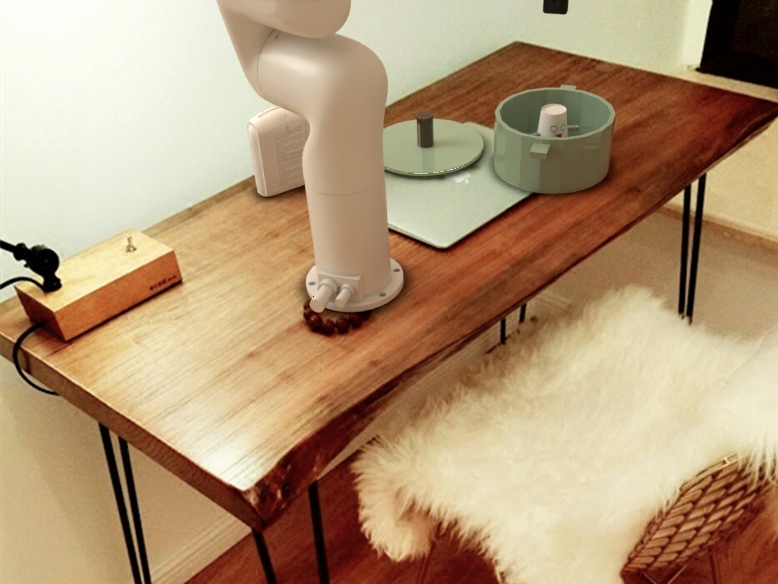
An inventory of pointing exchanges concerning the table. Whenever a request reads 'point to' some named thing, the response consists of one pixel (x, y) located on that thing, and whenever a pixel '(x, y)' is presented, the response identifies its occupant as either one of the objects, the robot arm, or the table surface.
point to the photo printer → (277, 150)
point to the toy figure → (554, 122)
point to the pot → (553, 141)
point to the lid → (430, 146)
